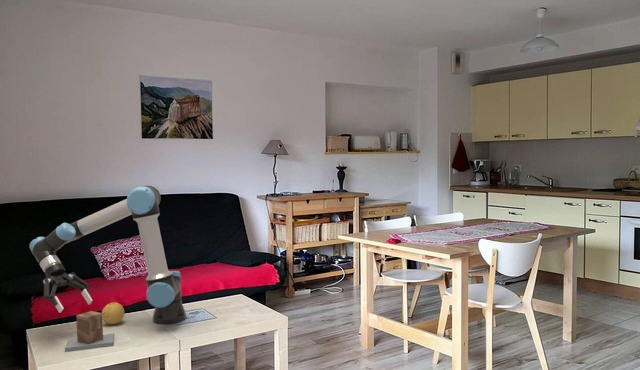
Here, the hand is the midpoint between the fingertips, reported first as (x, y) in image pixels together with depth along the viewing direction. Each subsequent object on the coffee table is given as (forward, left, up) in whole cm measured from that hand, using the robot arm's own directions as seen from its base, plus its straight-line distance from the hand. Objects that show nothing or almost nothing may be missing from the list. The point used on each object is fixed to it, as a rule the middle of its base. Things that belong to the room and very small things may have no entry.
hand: (76, 306), depth 225 cm
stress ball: (-13, -20, -15) cm, 29 cm away
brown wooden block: (-5, +6, -13) cm, 15 cm away
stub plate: (-5, +6, -15) cm, 17 cm away
